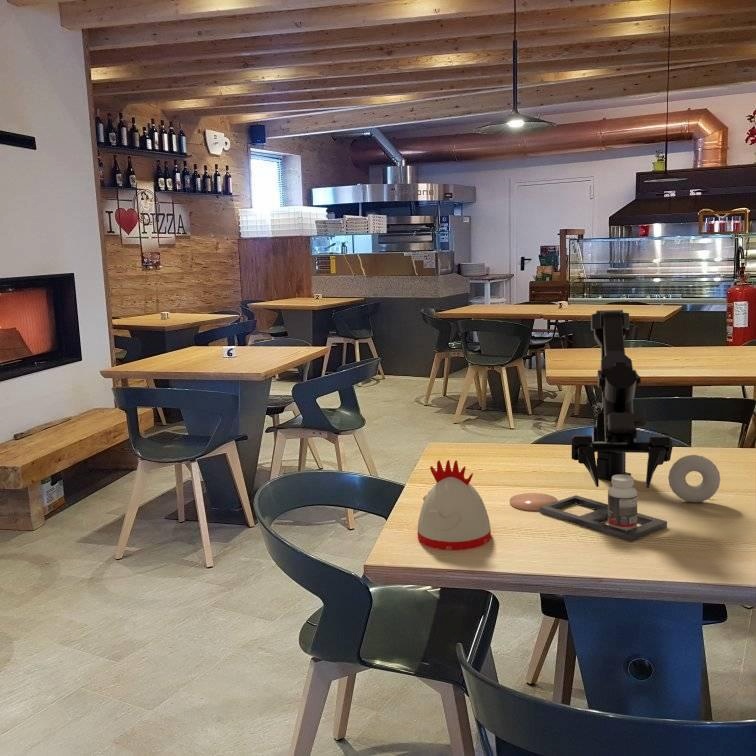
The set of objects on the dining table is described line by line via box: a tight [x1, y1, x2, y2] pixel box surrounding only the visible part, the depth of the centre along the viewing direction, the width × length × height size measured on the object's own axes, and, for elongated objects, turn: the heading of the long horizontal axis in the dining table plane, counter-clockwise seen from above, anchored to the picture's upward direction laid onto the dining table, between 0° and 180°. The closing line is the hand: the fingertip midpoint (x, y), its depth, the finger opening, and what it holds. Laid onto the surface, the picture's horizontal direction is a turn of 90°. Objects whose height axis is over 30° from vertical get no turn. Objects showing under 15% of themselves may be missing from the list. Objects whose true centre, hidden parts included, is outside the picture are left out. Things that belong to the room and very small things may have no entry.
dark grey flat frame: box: [539, 494, 668, 543], centre depth 157 cm, size 11×22×1 cm, turn 36°
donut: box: [667, 454, 721, 504], centre depth 164 cm, size 10×4×10 cm, turn 74°
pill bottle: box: [607, 474, 639, 531], centre depth 152 cm, size 5×5×10 cm
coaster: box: [509, 492, 559, 512], centre depth 169 cm, size 10×10×1 cm
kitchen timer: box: [417, 459, 492, 551], centre depth 151 cm, size 14×14×15 cm
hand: (622, 486), depth 152 cm, fingers open, 9 cm apart
